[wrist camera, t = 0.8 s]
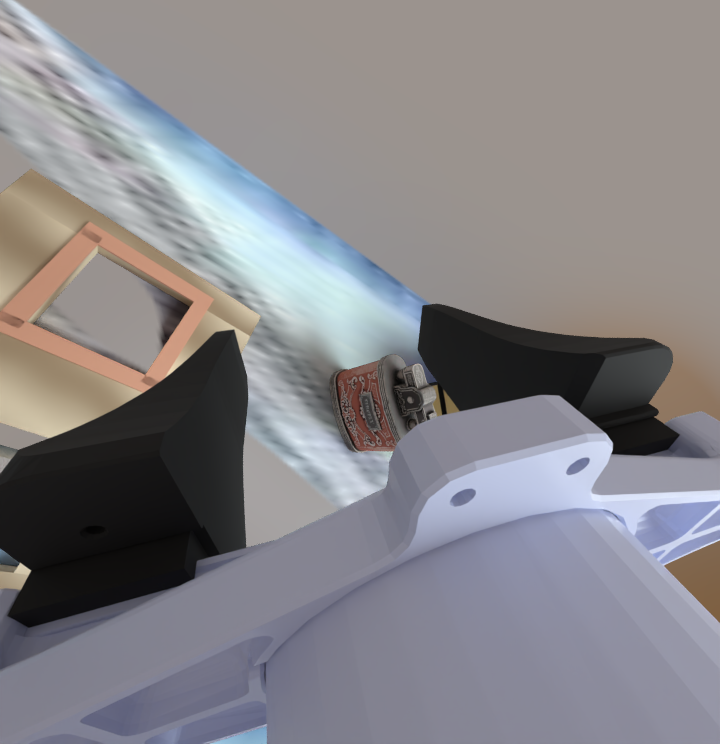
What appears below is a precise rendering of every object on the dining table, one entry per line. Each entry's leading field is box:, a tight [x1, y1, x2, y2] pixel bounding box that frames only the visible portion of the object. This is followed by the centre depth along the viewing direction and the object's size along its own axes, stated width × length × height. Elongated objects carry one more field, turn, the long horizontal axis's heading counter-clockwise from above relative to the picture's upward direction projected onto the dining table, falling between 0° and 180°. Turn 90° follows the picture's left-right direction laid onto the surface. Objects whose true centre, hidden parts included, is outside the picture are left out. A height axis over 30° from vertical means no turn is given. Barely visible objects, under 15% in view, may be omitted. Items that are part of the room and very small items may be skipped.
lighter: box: [330, 354, 437, 453], centre depth 27 cm, size 8×3×10 cm, turn 21°
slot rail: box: [0, 169, 261, 590], centre depth 18 cm, size 21×15×1 cm
